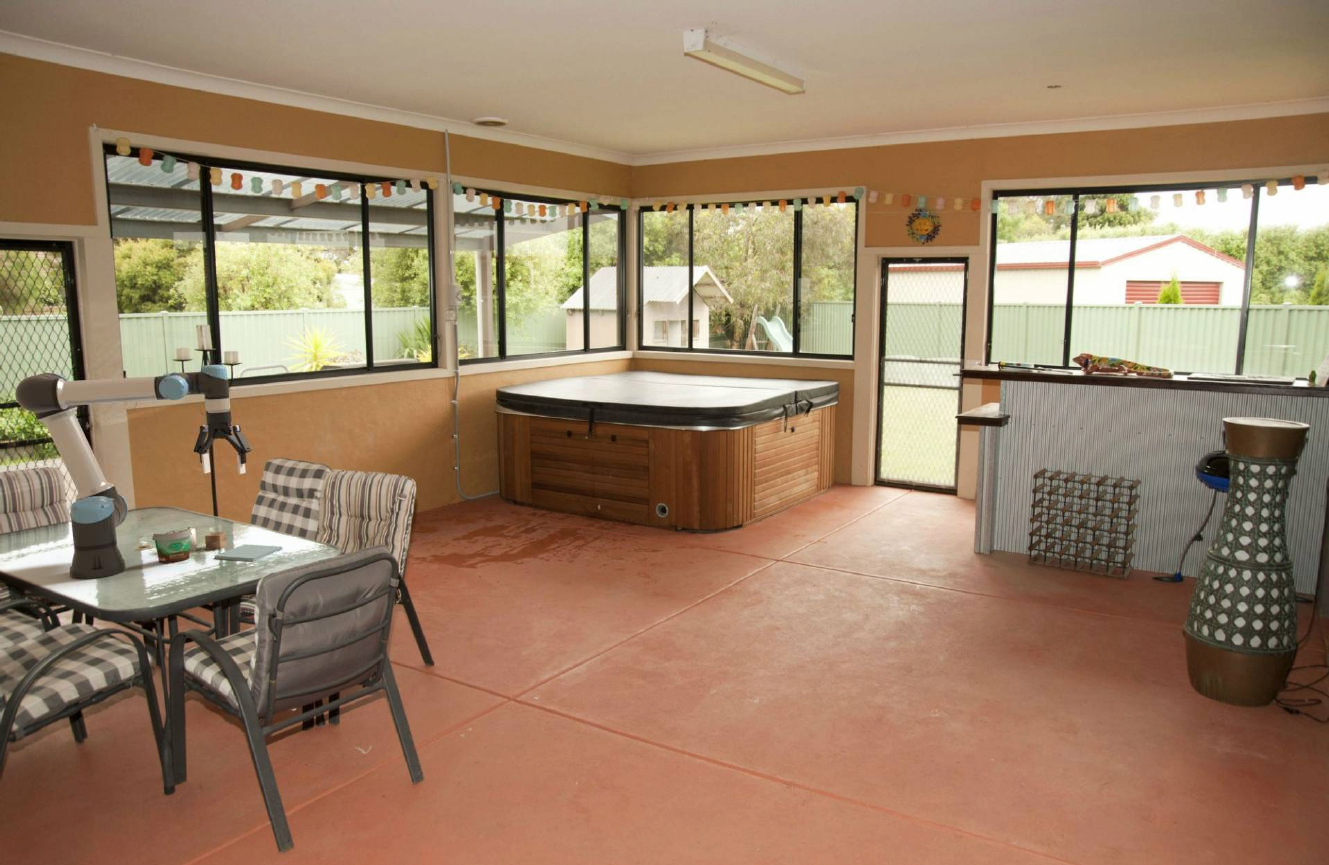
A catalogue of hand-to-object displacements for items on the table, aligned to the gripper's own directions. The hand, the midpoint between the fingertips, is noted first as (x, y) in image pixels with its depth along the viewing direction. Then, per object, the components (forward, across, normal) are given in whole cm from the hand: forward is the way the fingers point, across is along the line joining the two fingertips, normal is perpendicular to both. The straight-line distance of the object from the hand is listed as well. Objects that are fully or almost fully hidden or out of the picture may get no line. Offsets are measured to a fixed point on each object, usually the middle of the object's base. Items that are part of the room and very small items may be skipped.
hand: (224, 473), depth 315 cm
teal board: (+27, -8, +2) cm, 29 cm away
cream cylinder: (+27, +17, 0) cm, 32 cm away
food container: (+27, +10, +14) cm, 32 cm away
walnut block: (+27, +9, -3) cm, 29 cm away
